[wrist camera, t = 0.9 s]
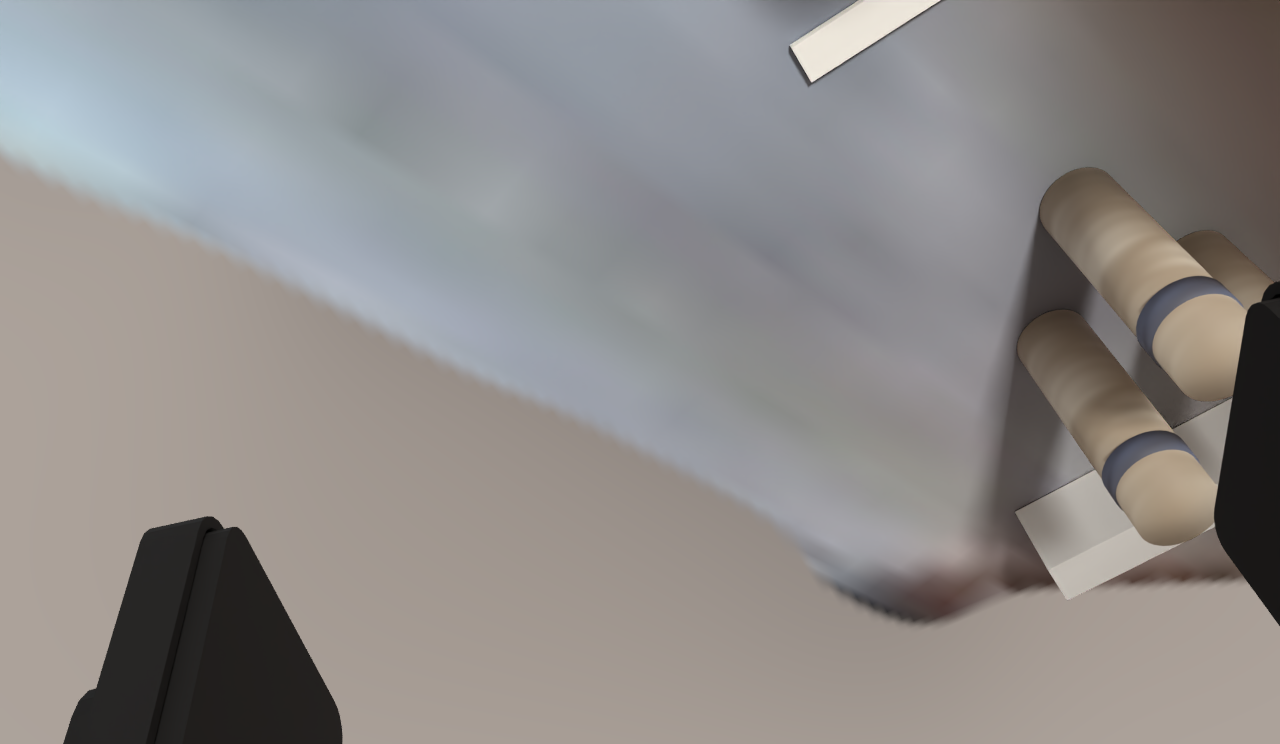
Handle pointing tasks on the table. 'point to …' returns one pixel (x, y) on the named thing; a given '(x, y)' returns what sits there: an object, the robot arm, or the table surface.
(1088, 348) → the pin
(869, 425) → the table surface
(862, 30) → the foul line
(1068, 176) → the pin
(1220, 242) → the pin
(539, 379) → the table surface
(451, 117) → the table surface
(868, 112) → the table surface
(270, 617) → the robot arm
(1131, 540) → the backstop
